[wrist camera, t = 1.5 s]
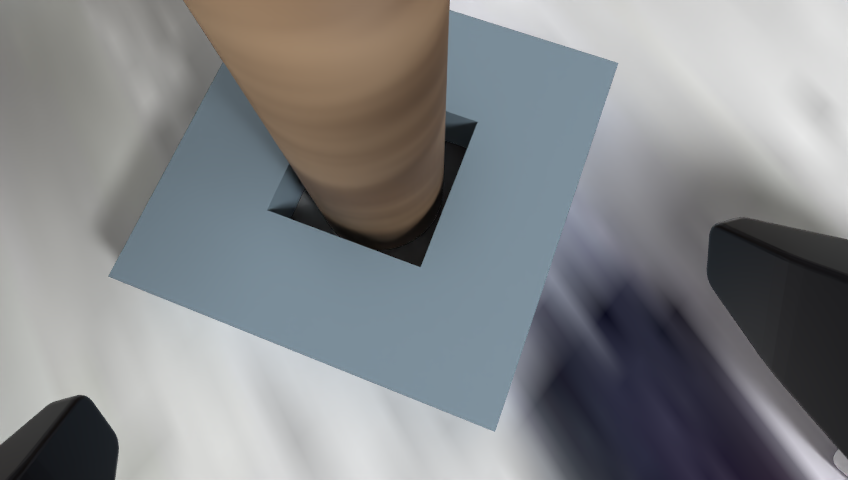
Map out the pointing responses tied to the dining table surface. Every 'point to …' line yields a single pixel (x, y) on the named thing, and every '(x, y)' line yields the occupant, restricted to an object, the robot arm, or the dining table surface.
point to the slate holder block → (374, 271)
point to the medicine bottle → (841, 462)
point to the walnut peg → (347, 102)
